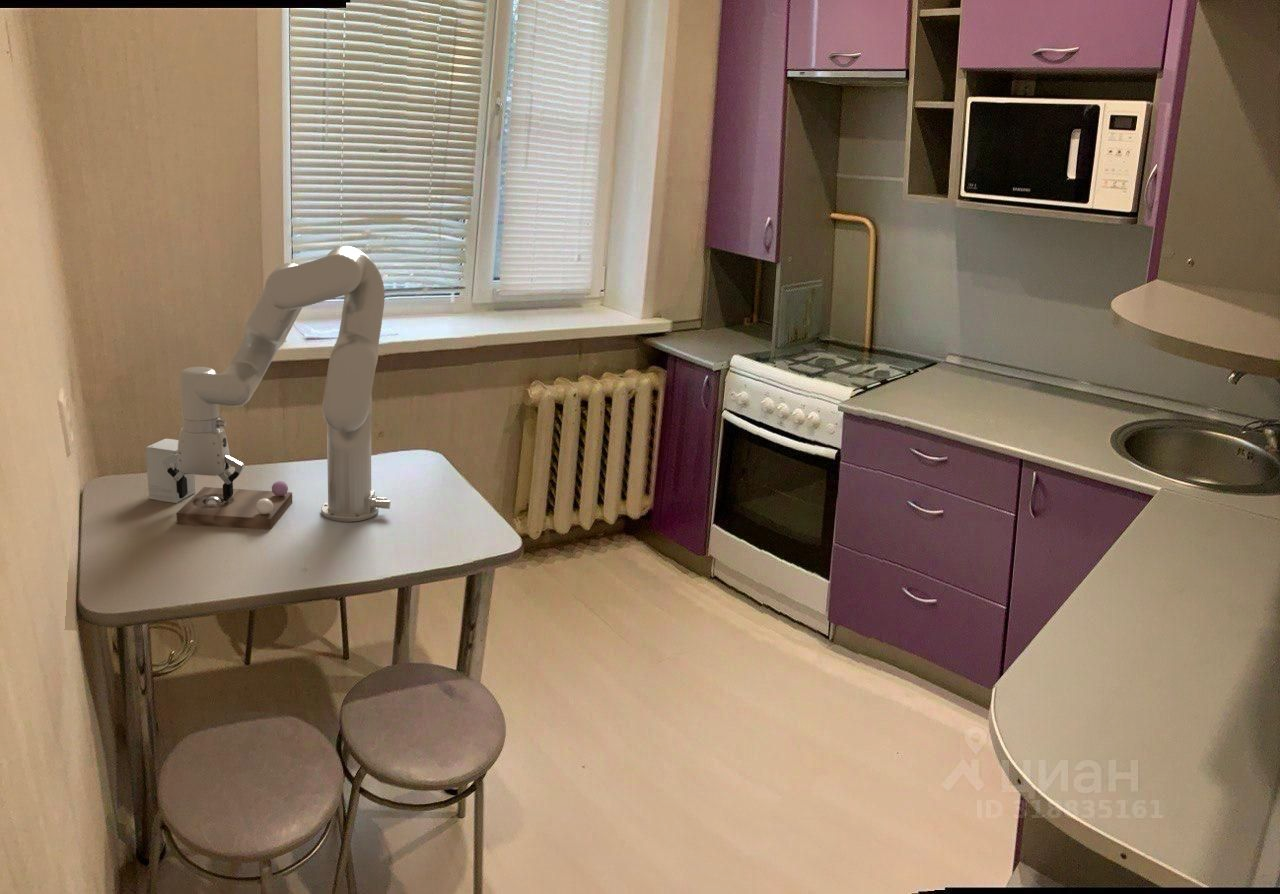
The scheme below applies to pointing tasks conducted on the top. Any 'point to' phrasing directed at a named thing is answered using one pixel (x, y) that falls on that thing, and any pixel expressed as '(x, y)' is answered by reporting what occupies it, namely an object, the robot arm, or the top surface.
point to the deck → (233, 509)
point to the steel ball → (213, 500)
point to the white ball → (264, 506)
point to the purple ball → (279, 488)
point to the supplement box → (164, 472)
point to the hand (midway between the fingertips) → (205, 497)
